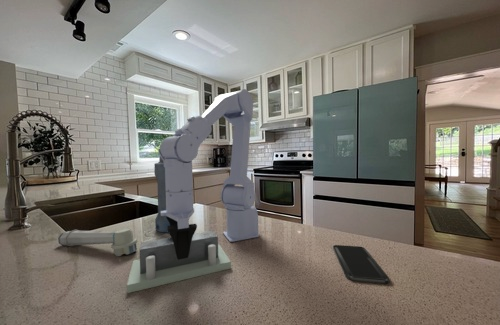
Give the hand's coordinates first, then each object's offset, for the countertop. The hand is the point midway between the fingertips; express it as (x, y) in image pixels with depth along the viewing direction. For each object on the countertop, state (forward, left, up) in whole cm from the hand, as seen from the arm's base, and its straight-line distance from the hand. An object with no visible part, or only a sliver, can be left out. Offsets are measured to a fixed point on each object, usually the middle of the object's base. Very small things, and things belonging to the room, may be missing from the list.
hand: (181, 250), depth 47 cm
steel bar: (0, 0, -2) cm, 2 cm away
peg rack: (0, 0, -4) cm, 4 cm away
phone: (-37, +15, -4) cm, 40 cm away
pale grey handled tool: (+20, -20, -4) cm, 29 cm away
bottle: (+1, -29, -4) cm, 29 cm away
